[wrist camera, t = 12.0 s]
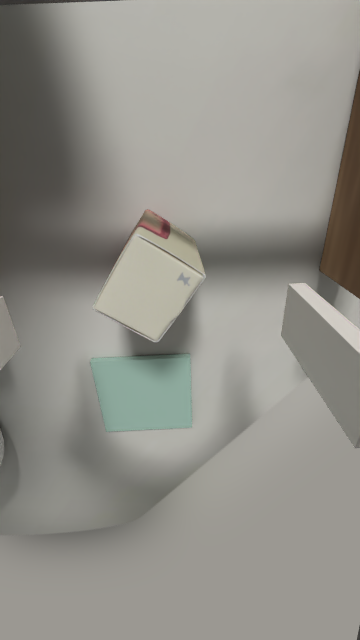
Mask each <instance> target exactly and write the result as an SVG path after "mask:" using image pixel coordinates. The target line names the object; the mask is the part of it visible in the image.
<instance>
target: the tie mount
mask: <svg viewBox="0 0 360 640" xmlns="http://www.w3.org/2000/svg"><path fill="white" fill-rule="evenodd" d="M319 270H320V271H321V272H323V273H324V274H325V275H327V276H328V277H330V278H331V279H332V280H334V281H335V282H337V283H338V284H339V285H341V286H342V287H344V288H345V289H346V290H348V291H349V292H351V293H352V294H353V295H355V296H356V297H358V298H359V299H360V72H359V77H358V82H357V87H356V92H355V97H354V102H353V107H352V112H351V116H350V121H349V126H348V131H347V136H346V141H345V146H344V151H343V156H342V161H341V166H340V171H339V176H338V181H337V186H336V190H335V195H334V200H333V205H332V210H331V215H330V220H329V225H328V230H327V235H326V240H325V245H324V250H323V255H322V260H321V265H320V269H319Z"/></svg>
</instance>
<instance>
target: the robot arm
mask: <svg viewBox="0 0 360 640" xmlns="http://www.w3.org/2000/svg"><path fill="white" fill-rule="evenodd" d="M281 336H282V338H283V339H284V341H285V342H286V344H287V345H288V347H289V348H290V350H291V351H292V353H293V354H294V356H295V357H296V359H297V360H298V362H299V364H300V365H301V367H302V368H303V370H304V371H305V373H306V374H307V376H308V377H309V379H310V380H311V382H312V383H313V385H314V386H315V388H316V389H317V391H318V393H319V394H320V396H321V397H322V398H323V400H324V402H325V403H326V405H327V406H328V408H329V409H330V411H331V412H332V414H333V415H334V417H335V418H336V420H337V422H338V423H339V424H340V426H341V428H342V429H343V431H344V432H345V434H346V435H347V437H348V438H349V440H350V441H351V443H352V444H353V446H354V447H355V448H360V329H358V328H357V327H356V326H355V325H354V324H353V323H351V322H350V321H349V320H348V319H347V318H346V317H344V316H343V315H342V314H341V313H340V312H338V311H337V310H336V309H335V308H334V307H333V306H331V305H330V304H329V303H328V302H327V301H326V300H324V299H323V298H322V297H321V296H320V295H319V294H317V293H316V292H315V291H314V290H313V289H312V288H310V287H309V286H308V285H307V284H306V283H295V284H288V291H287V298H286V305H285V312H284V318H283V325H282V332H281ZM20 347H21V346H20V343H19V340H18V337H17V334H16V332H15V329H14V326H13V323H12V320H11V317H10V314H9V311H8V309H7V306H6V303H5V300H4V297H3V296H0V370H1V369H2V368H3V367H4V366H5V365H6V363H7V362H8V361H9V360H10V359H11V358H12V356H13V355H14V354H15V353H16V352H17V351H18V349H19V348H20ZM357 640H360V627H359V632H358V637H357Z"/></svg>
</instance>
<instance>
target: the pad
mask: <svg viewBox="0 0 360 640" xmlns="http://www.w3.org/2000/svg"><path fill="white" fill-rule="evenodd" d="M90 363H91V368H92V372H93V376H94V381H95V385H96V389H97V394H98V398H99V402H100V407H101V411H102V415H103V420H104V424H105V428H106V432H110V431H130V430H150V429H170V428H190V427H192V408H191V367H190V354H173V355H152V356H132V357H111V358H92V359H91V362H90Z"/></svg>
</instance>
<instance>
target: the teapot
mask: <svg viewBox="0 0 360 640" xmlns="http://www.w3.org/2000/svg"><path fill="white" fill-rule="evenodd" d="M3 455H4V439H3V435H2V432H1V430H0V466H1V463H2V460H3Z"/></svg>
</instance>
